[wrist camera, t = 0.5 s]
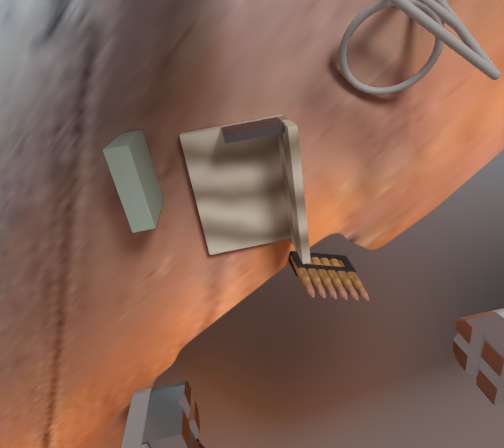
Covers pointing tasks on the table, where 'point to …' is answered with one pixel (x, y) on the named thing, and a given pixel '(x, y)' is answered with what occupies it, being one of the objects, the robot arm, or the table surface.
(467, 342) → the robot arm
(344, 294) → the ammunition clip
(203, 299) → the table surface
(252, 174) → the shelf
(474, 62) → the wire frame
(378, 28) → the table surface
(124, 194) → the grey flat block
